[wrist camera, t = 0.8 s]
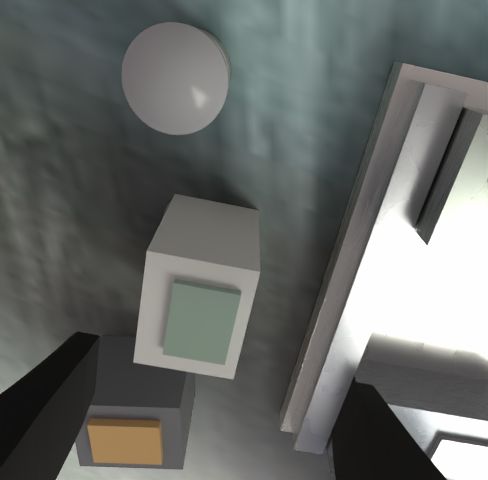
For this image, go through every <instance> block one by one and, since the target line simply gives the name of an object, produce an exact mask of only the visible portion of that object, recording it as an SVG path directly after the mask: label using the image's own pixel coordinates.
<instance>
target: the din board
mask: <svg viewBox="0 0 488 480" xmlns="http://www.w3.org/2000/svg"><path fill="white" fill-rule="evenodd" d="M352 381H353V382H359V383H364V384H370V385H373V386H374V387H375V388H376V390H377V391H378V392H379V394H380V395H381V396H382V398H383V399H384V400H385V402H386V403H387V404H388V406H389V407H390V408H391V410H392V411H393V412H394V414H395V415H396V416H397V418H398V419H399V420H400V422H401V423H402V424H403V426H404V427H405V428H406V430H407V431H408V432H409V434H410V435H411V436H412V437H413V439H414V440H415V441H416V443H417V444H418V445H419V446H420V448H421V449H422V450H423V451H424V453H425V454H426V455H427V456H428V458H429V459H430V460H431V461H432V462H433V464H434V465H435V466H436V467H437V468H438V469H439V471H440V472H441V473H442V474H443V475H444V476H445V478H446V479H447V480H488V82H485V81H480V80H476V79H472V78H467V77H463V76H458V75H454V74H450V73H445V72H441V71H436V70H432V69H427V68H423V67H419V66H414V65H410V64H405V63H400V62H395V61H394V63H393V66H392V69H391V72H390V75H389V78H388V81H387V84H386V87H385V90H384V94H383V97H382V100H381V103H380V106H379V109H378V112H377V115H376V118H375V121H374V124H373V127H372V130H371V134H370V137H369V140H368V143H367V146H366V149H365V152H364V155H363V158H362V161H361V164H360V167H359V170H358V174H357V177H356V180H355V183H354V186H353V189H352V192H351V195H350V198H349V201H348V204H347V207H346V210H345V214H344V217H343V220H342V223H341V226H340V229H339V232H338V235H337V238H336V241H335V244H334V247H333V251H332V254H331V257H330V260H329V263H328V266H327V269H326V272H325V275H324V278H323V281H322V284H321V287H320V291H319V294H318V297H317V300H316V303H315V306H314V309H313V312H312V315H311V318H310V321H309V324H308V327H307V331H306V334H305V337H304V340H303V343H302V346H301V349H300V352H299V355H298V358H297V361H296V364H295V367H294V371H293V374H292V377H291V380H290V383H289V386H288V389H287V392H286V395H285V398H284V401H283V404H282V408H281V411H280V414H279V417H280V431H285V432H291V433H292V441H293V450H296V451H302V452H309V453H315V454H321V455H322V454H323V452H324V449H325V447H326V448H327V454H328V459H329V465H330V470H331V472H332V473H335V470H334V461H333V450H332V435H331V431H332V429H333V426H334V424H335V422H336V419H337V417H338V414H339V412H340V410H341V407H342V405H343V402H344V400H345V398H346V395H347V393H348V390H349V388H350V386H351V383H352Z"/></svg>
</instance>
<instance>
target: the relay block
mask: <svg viewBox="0 0 488 480" xmlns="http://www.w3.org/2000/svg"><path fill="white" fill-rule="evenodd" d="M135 343H136V337H130V336H102V337H101V339H100V342H99V353H98V364H97V375H96V386H95V393H94V395H93V398H92V401H91V404H90V407H89V409H88V412H87V415H86V417H85V420H84V423H83V425H82V428H81V430H80V432H79V434H78V436H77V438H76V440H75V443H76V448H77V453H78V459H79V464H80V466H97V467H126V468H156V469H183V465H184V459H185V452H186V446H187V440H188V434H189V428H190V421H191V415H192V409H193V403H194V397H195V378H194V373H192V372H186V371H180V370H175V369H169V368H163V367H157V366H151V365H145V364H139V363H133V360H134V352H135Z"/></svg>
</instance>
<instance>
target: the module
mask: <svg viewBox="0 0 488 480" xmlns="http://www.w3.org/2000/svg"><path fill="white" fill-rule="evenodd" d="M259 276H260V241H259V210H255V209H250V208H244V207H239V206H234V205H229V204H224V203H219V202H214V201H209V200H204V199H199V198H194V197H189V196H184V195H179V194H175V195H174V197H173V199H172V201H171V202H170V201H169V202H168V204H167V206H166V208H165V210H164V216H163V219H162V221H161V223H160V225H159V227H158V229H157V231H156V233H155V235H154V237H153V239H152V241H151V243H150V245H149V247H148V249H147V253H146V262H145V270H144V278H143V286H142V294H141V303H140V311H139V319H138V327H137V335H136V343H135V352H134V360H133V363H139V364H145V365H151V366H157V367H163V368H169V369H175V370H180V371H186V372H192V373H198V374H204V375H210V376H216V377H221V378H227V379H234V375H235V371H236V367H237V363H238V359H239V355H240V351H241V347H242V343H243V339H244V335H245V331H246V327H247V323H248V319H249V316H250V312H251V308H252V304H253V300H254V296H255V292H256V288H257V284H258V280H259Z"/></svg>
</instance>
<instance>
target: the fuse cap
mask: <svg viewBox="0 0 488 480" xmlns="http://www.w3.org/2000/svg"><path fill="white" fill-rule="evenodd" d="M121 78H122V86H123V90H124V94H125V96H126V99H127V101H128V103H129V105H130V107H131V108H132V110H133V111H134V113H135V114H136V115H137V116H138V117H139V118H140V119H141V120H142V121H143V122H144V123H145V124H147V125H148V126H150V127H151V128H153V129H155V130H157V131H160V132H162V133H166V134H172V135H185V134H190V133H194V132H196V131H199V130H201V129H203V128H204V127H206V126H207V125H208V124H210V123H211V122H212V121H213V120H214V119H215V118H216V116H217V115H218V114H219V112H220V110H221V109H222V107H223V104H224V102H225V99H226V96H227V92H228V86H229V82H230V78H231V64H230V59H229V56H228V54H227V51H226V49H225V48H224V46H223V45H222V43H221V42H220V41H219V40H218V39H217V38H216V37H215V36H214V35H212V34H211V33H209V32H207V31H205V30H202V29H199V28H195V27H193V26H191V25H187V24H183V23H177V22H166V23H160V24H156V25H153V26H151V27H149V28H147V29H145V30H144V31H142V32H141V33H140V34H139V35H138V36H137V37H136V38H135V39H134V40H133V41H132V42H131V44H130V46H129V47H128V49H127V51H126V54H125V56H124V59H123V63H122V73H121Z"/></svg>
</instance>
